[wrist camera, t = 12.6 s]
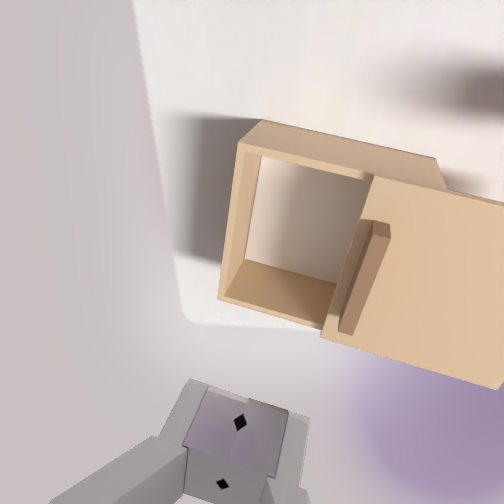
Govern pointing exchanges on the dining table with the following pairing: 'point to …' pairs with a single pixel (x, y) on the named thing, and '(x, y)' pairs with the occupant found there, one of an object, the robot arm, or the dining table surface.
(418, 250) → the lid
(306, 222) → the box
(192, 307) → the dining table surface
